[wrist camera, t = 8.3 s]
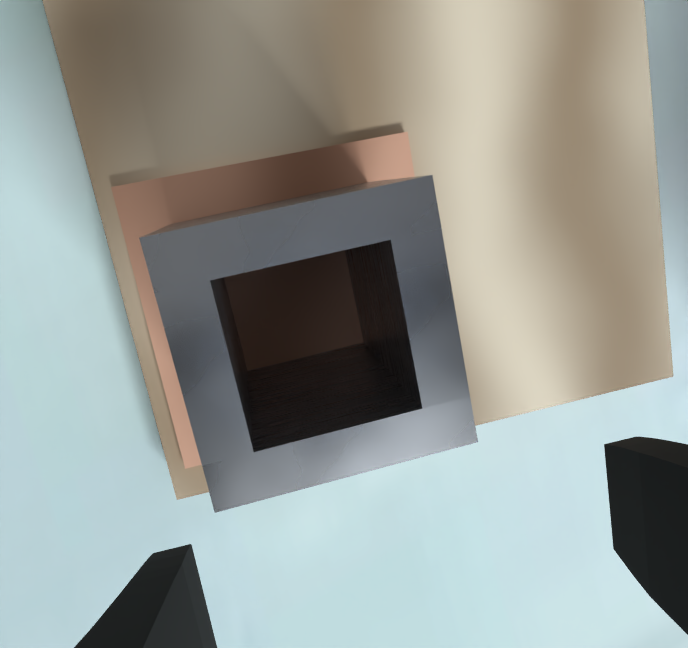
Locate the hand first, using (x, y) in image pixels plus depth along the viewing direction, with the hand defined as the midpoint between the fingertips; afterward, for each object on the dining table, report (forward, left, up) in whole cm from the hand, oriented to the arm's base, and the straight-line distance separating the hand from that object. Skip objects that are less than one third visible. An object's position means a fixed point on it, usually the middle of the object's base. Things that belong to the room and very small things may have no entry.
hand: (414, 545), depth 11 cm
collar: (+1, -3, -8) cm, 9 cm away
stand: (-3, -8, -10) cm, 13 cm away
